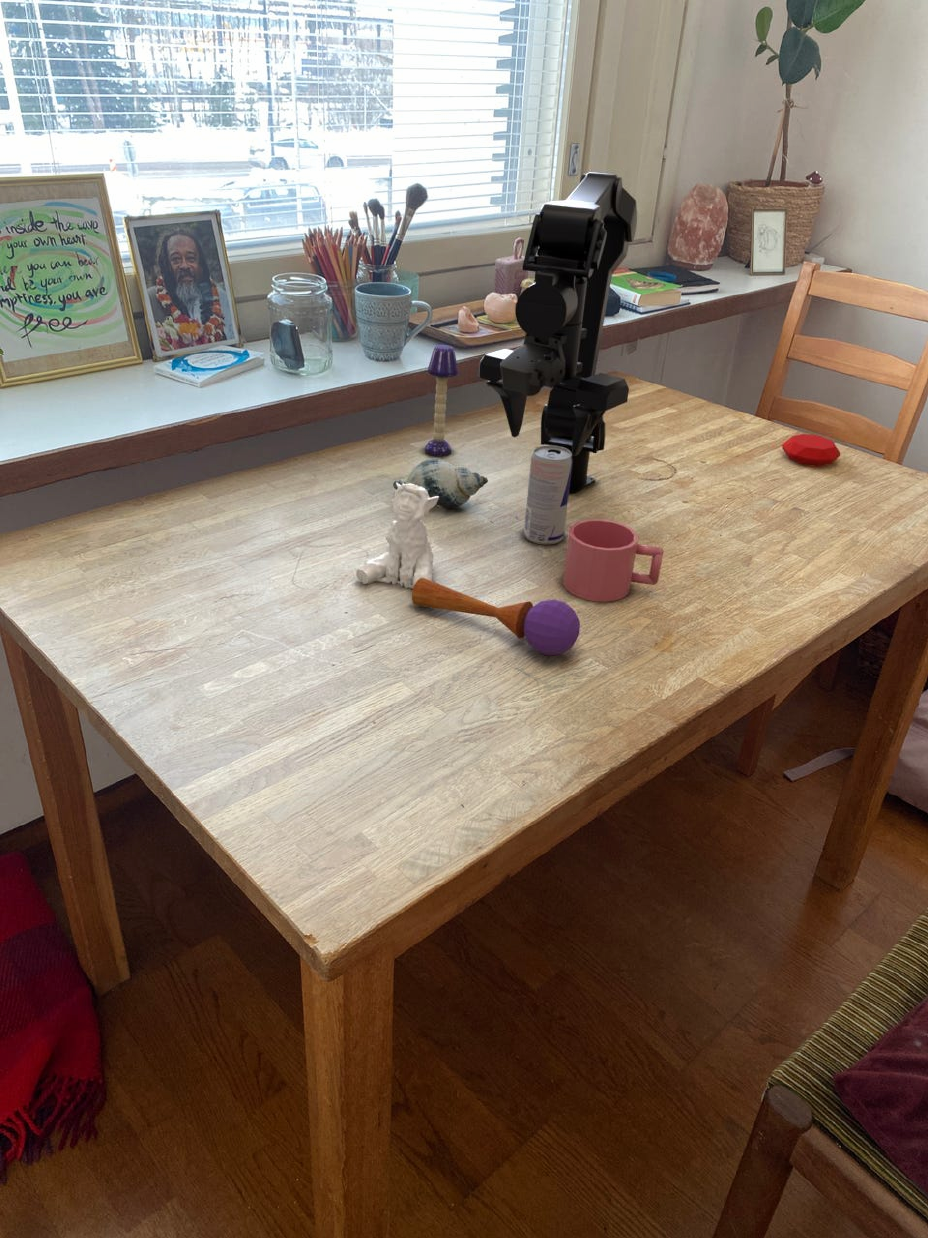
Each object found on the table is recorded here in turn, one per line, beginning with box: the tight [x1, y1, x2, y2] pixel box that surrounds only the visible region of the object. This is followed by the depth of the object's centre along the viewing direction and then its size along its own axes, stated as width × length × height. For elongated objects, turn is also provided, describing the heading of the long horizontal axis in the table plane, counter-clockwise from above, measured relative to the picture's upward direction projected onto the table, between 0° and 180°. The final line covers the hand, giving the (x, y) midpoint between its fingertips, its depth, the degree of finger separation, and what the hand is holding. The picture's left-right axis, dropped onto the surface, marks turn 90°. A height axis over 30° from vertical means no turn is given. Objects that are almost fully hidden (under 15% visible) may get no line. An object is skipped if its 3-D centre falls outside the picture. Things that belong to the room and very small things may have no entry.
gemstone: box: [781, 433, 841, 468], centre depth 156 cm, size 9×9×3 cm
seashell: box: [392, 457, 489, 509], centre depth 132 cm, size 6×8×12 cm
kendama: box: [411, 578, 581, 656], centre depth 104 cm, size 6×6×20 cm
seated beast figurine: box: [355, 483, 439, 589], centre depth 112 cm, size 10×9×12 cm
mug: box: [562, 518, 665, 603], centre depth 114 cm, size 11×8×7 cm
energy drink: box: [523, 445, 573, 546], centre depth 123 cm, size 5×5×12 cm
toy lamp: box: [424, 344, 459, 457], centre depth 146 cm, size 5×5×17 cm
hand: (544, 445), depth 119 cm, fingers open, 9 cm apart
